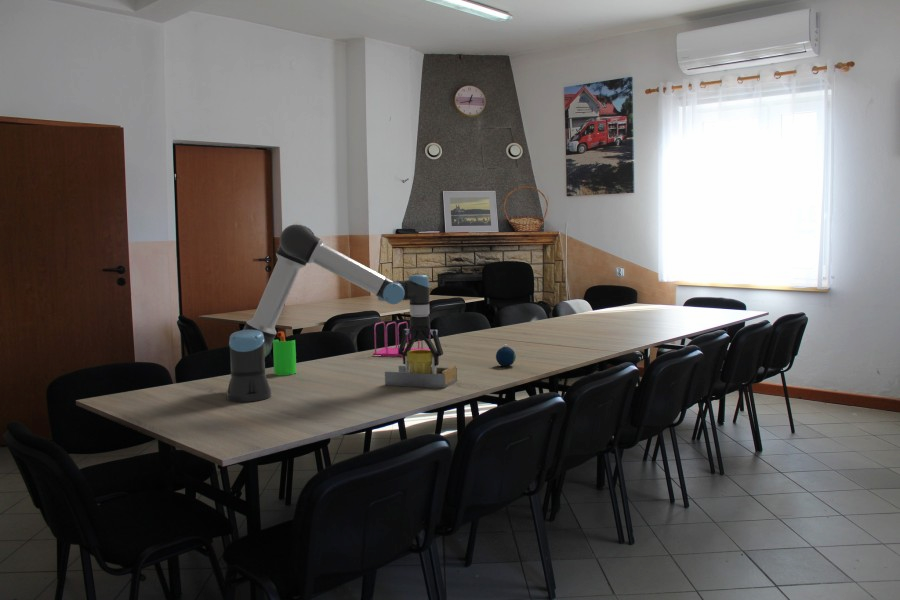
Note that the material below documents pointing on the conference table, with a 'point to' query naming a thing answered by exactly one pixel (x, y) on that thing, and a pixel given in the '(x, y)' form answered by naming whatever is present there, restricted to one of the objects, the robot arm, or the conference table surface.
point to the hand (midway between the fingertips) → (421, 373)
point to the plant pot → (420, 361)
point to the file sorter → (394, 351)
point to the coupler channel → (422, 378)
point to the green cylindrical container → (284, 356)
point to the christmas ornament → (505, 356)
